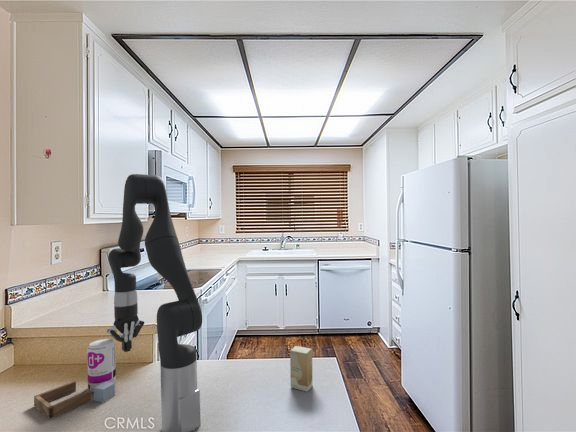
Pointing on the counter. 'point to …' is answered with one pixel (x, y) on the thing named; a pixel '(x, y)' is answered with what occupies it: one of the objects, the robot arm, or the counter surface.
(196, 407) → the robot arm
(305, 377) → the skincare box
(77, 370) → the counter surface
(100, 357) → the supplement can
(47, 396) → the frame
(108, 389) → the slate-blue block
